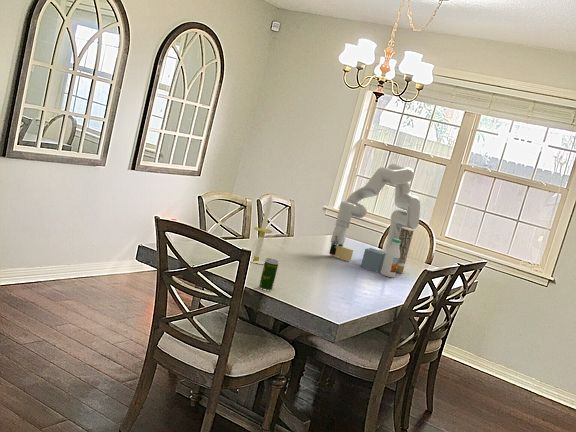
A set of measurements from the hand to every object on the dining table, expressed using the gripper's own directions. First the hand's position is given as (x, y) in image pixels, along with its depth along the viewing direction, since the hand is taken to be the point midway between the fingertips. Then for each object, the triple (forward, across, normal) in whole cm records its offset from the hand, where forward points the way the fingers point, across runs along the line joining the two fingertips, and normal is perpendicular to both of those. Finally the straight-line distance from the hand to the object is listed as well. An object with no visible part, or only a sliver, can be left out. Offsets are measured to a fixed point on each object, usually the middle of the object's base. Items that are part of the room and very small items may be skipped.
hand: (335, 253), depth 375 cm
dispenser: (+2, 0, +22) cm, 23 cm away
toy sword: (+2, +73, -12) cm, 74 cm away
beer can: (+2, +113, +14) cm, 114 cm away
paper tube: (+2, -14, +32) cm, 35 cm away
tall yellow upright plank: (+2, 0, +3) cm, 4 cm away
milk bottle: (+2, +5, +33) cm, 34 cm away
